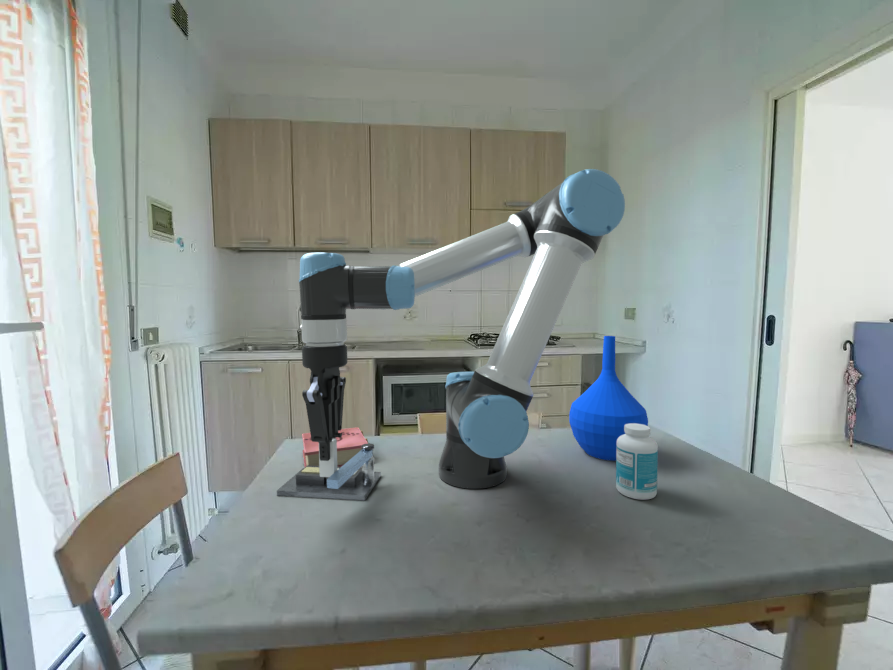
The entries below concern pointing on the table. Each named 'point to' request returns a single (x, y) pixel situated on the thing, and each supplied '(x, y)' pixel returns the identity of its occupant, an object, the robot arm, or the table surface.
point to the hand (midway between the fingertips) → (328, 475)
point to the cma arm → (350, 467)
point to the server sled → (316, 487)
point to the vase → (604, 410)
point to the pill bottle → (636, 462)
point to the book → (345, 447)
